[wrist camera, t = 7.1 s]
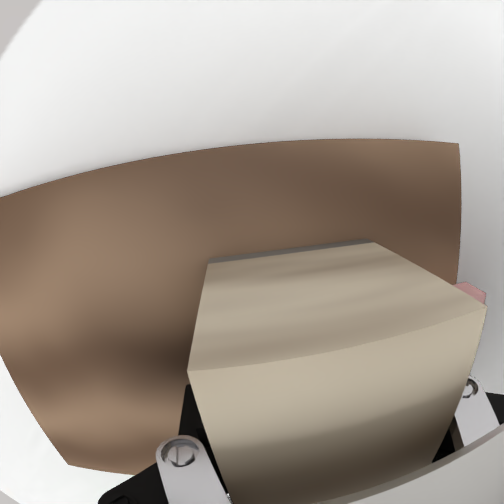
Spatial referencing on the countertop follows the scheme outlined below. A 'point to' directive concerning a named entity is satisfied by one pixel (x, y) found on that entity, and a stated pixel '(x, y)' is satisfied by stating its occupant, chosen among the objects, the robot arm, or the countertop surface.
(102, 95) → the countertop surface
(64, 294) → the board
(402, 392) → the block
